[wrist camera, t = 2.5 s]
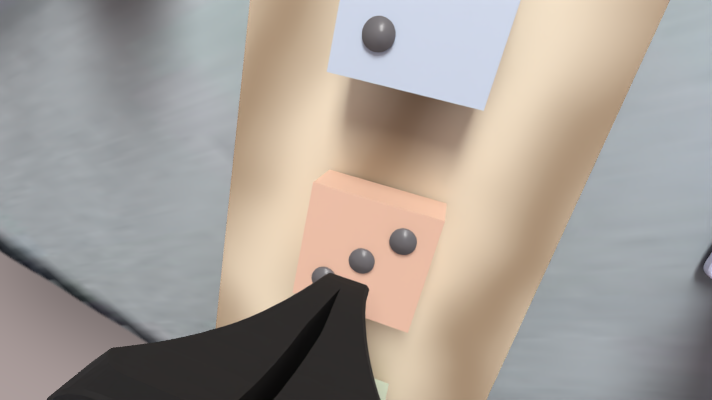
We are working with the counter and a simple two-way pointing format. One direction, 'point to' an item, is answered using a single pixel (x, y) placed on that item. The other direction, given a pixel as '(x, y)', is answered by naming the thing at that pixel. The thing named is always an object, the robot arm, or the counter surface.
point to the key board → (429, 172)
